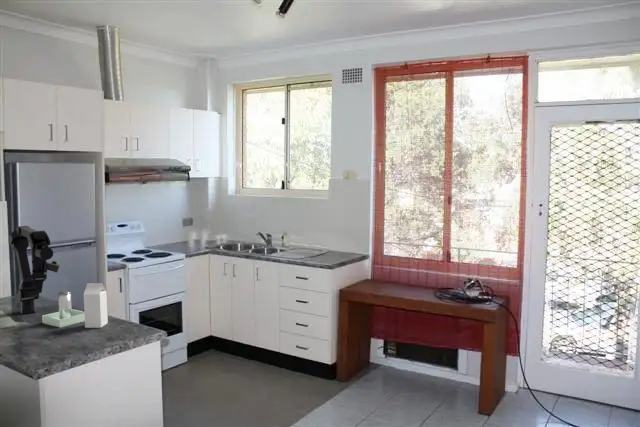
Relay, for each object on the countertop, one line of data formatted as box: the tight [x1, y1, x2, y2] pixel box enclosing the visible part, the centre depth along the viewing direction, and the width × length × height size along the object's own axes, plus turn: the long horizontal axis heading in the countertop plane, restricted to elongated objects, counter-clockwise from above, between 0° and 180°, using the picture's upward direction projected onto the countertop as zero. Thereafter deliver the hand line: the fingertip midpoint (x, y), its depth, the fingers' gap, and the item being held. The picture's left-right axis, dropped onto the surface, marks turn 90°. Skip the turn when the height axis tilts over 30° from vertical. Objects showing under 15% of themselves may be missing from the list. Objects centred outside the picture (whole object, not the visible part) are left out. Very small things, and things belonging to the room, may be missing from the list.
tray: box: [41, 308, 85, 329], centre depth 245 cm, size 14×14×4 cm
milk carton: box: [83, 282, 109, 329], centre depth 237 cm, size 7×7×19 cm
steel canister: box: [57, 290, 73, 319], centre depth 244 cm, size 5×5×13 cm
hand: (40, 291), depth 250 cm, fingers open, 9 cm apart
